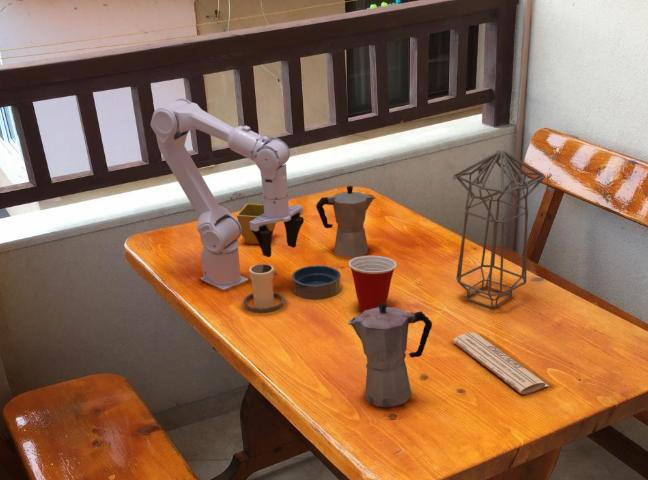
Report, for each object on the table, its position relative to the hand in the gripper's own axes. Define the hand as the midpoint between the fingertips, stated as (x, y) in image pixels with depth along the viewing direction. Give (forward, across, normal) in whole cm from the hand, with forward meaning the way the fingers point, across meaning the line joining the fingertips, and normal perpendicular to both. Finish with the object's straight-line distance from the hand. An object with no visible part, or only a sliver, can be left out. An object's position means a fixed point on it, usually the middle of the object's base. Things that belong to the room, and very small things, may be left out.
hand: (279, 251), depth 203 cm
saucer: (+10, -8, -3) cm, 13 cm away
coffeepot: (+11, +27, +5) cm, 29 cm away
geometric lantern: (+11, +31, -39) cm, 51 cm away
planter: (+10, +6, -6) cm, 13 cm away
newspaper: (+11, +8, -59) cm, 60 cm away
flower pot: (+10, +16, +28) cm, 34 cm away
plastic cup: (+11, +8, -23) cm, 26 cm away
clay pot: (+10, -8, -3) cm, 13 cm away
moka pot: (+11, -16, -51) cm, 54 cm away
